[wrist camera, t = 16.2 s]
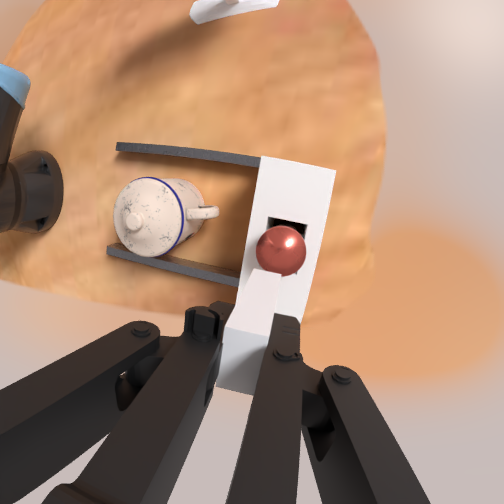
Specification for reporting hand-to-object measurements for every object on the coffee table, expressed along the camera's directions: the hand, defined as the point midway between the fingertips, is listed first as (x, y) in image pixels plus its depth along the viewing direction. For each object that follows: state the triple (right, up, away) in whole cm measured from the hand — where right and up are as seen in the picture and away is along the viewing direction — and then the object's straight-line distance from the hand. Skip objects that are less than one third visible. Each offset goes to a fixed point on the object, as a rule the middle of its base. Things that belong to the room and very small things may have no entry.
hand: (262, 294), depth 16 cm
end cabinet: (+4, +5, +22) cm, 23 cm away
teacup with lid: (-9, +8, +24) cm, 27 cm away
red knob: (+3, +4, +16) cm, 17 cm away
